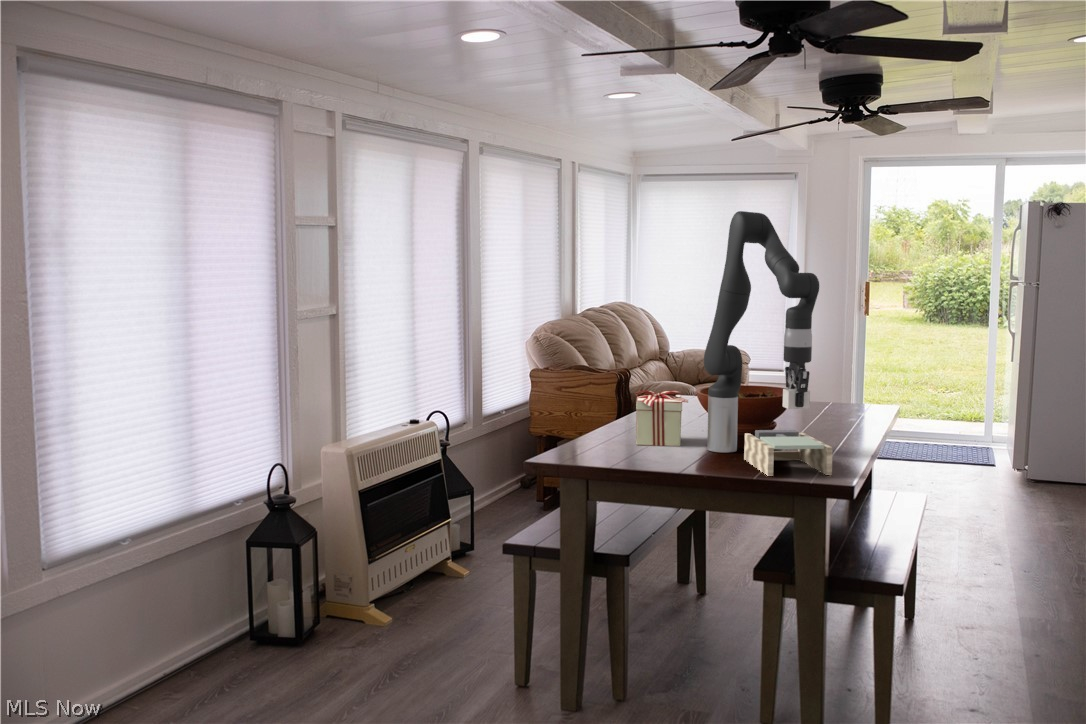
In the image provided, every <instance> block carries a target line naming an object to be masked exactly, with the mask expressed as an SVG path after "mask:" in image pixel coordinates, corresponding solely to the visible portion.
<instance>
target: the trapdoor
mask: <svg viewBox="0 0 1086 724" xmlns="http://www.w3.org/2000/svg"><path fill="white" fill-rule="evenodd" d="M799 433H800V432H799V431H797V430H796V429H759V430H758V429H755V431H754V436H755V437H757V438H758V439H760V440H762V441H763V442H765V443H766V444H768V445H770V446H771V447H773V448H774V450H798V449H824V445H823V444H821V443H819V442H817V441H815V440H813V439H811V438H809V437H807V436H803V437H799Z"/></svg>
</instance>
